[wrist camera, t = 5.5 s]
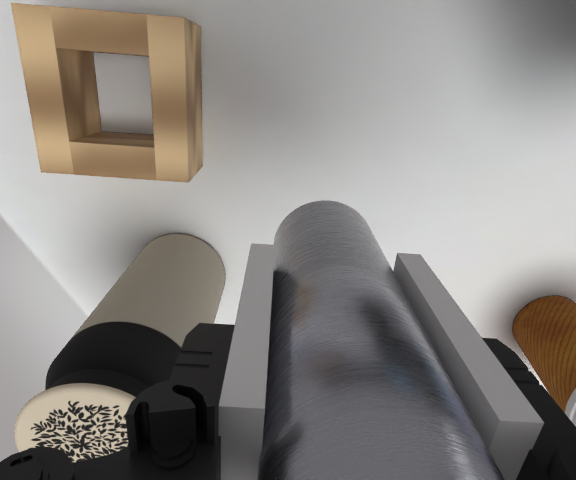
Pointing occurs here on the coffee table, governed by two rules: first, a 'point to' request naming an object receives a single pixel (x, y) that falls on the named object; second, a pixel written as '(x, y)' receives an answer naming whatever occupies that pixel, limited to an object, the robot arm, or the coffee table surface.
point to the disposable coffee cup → (551, 346)
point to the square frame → (84, 99)
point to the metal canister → (355, 366)
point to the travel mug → (123, 349)
